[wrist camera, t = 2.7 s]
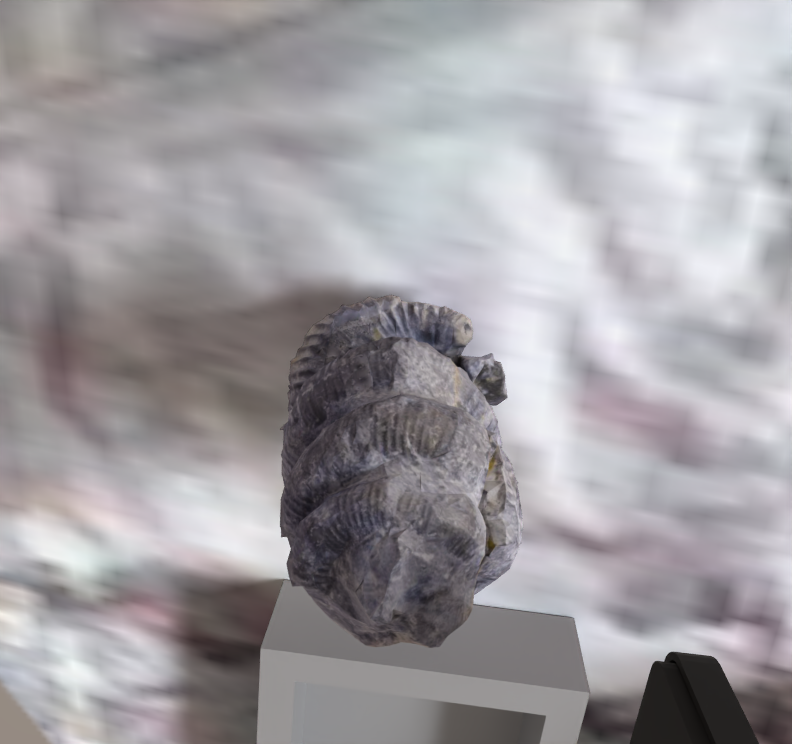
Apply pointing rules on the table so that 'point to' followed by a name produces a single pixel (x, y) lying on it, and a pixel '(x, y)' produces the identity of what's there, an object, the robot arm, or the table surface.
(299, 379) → the seashell
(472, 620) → the green and grey box
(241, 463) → the table surface
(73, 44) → the table surface
